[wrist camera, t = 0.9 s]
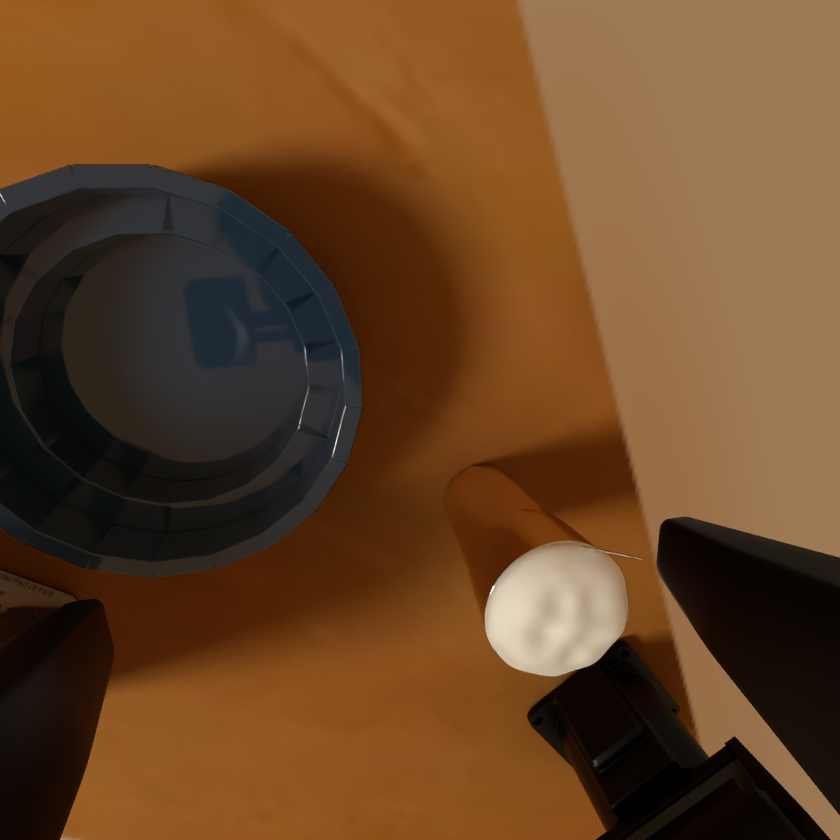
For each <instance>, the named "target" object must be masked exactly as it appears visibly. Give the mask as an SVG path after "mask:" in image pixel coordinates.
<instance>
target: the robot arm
mask: <svg viewBox="0 0 840 840" xmlns="http://www.w3.org/2000/svg"><path fill="white" fill-rule="evenodd" d="M659 533H660V534H659V543H658V551H657V569H658V572H659V575H660V577H661V578H662V580H663V581H664V583H665V584H666V586H667V588H668V589H669V591H670V592H671V594H672V595H673V597H674V598H675V600H676V601H677V603H678V604H679V606H680V607H681V609H682V611H683V612H684V613H685V615H686V617H687V618H688V620H689V621H690V623H691V624H692V626H693V627H694V629H695V630H696V632H697V634H698V635H699V637H700V638H701V640H702V641H703V642H704V644H705V645H706V647H707V648H708V650H709V651H710V652H711V654H712V655H713V656H714V658H715V659H716V660H717V662H718V663H719V664H720V665H721V667H722V668H723V669H724V670H725V672H726V673H727V674H728V675H729V676H730V678H731V679H732V680H733V682H734V683H735V684H736V685H737V687H738V688H739V689H740V691H741V692H742V693H743V694H744V696H745V697H746V698H747V699H748V701H749V702H750V703H751V704H752V706H753V707H754V708H755V709H756V711H757V712H758V713H759V714H760V716H761V717H762V718H763V719H764V721H765V722H766V723H767V724H768V726H769V727H770V728H771V729H772V731H773V732H774V733H775V735H776V736H777V737H778V738H779V739H780V741H781V742H782V743H783V744H784V746H785V747H786V748H787V750H788V751H789V752H790V753H791V755H792V756H793V757H794V758H795V760H796V761H797V762H798V763H799V765H800V766H801V767H802V768H803V770H804V771H805V772H806V773H807V775H808V776H809V777H810V779H811V780H812V781H813V782H814V783H815V785H816V786H817V787H818V788H819V790H820V791H821V792H822V793H823V795H824V796H825V797H826V799H827V800H828V801H829V802H830V804H831V805H832V806H833V807H834V809H835V810H836V811H837V812H838V814H839V815H840V558H839V557H835V556H831V555H828V554H824V553H821V552H816V551H813V550H809V549H806V548H801V547H798V546H794V545H790V544H787V543H783V542H779V541H776V540H772V539H768V538H764V537H761V536H757V535H753V534H750V533H746V532H742V531H738V530H735V529H731V528H727V527H723V526H720V525H715V524H712V523H709V522H705V521H701V520H697V519H693V518H690V517H679V518H672V519H667V520H665V521H664V522H663V523H662V524H661V526H660V532H659ZM622 651H623V652H622ZM113 659H114V646H113V642H112V638H111V633H110V629H109V625H108V621H107V617H106V613H105V609H104V606H103V604H102V603H101V601H99V600H98V599H87V600H80V601H73V602H69V603H66V604H64V605H63V606H61V607H60V608H58V609H56V610H55V611H53V612H52V613H50V614H48V615H47V616H45V617H44V618H42V619H41V620H39V621H37V622H36V623H34V624H33V625H31V626H29V627H28V628H26V629H25V630H23V631H22V632H20V633H18V634H17V635H15V636H14V637H12V638H10V639H9V640H7V641H6V642H4V643H3V644H1V645H0V840H60V838H61V835H62V833H63V830H64V827H65V825H66V822H67V819H68V817H69V814H70V811H71V808H72V806H73V803H74V800H75V798H76V795H77V792H78V789H79V787H80V784H81V781H82V778H83V775H84V772H85V769H86V766H87V763H88V760H89V756H90V752H91V749H92V745H93V741H94V737H95V733H96V729H97V725H98V721H99V717H100V713H101V709H102V705H103V701H104V697H105V693H106V689H107V685H108V681H109V677H110V673H111V669H112V665H113ZM679 712H680V708H679V706H678V705H677V704H676V702H675V701H674V700H673V699H672V697H671V696H670V695H669V694H668V692H667V691H666V690H665V689H664V687H663V686H662V685H661V684H660V682H659V681H658V680H657V679H656V677H655V676H654V675H653V674H652V672H651V671H650V670H649V669H648V667H647V666H646V665H645V664H644V662H643V661H642V660H641V659H640V658H639V656H638V655H637V654H636V653H635V651H634V650H633V649H632V648H631V646H630V645H629V644H628V643H627V642H626V641H619V642H617V643H616V644H614V645H613V646H612V647H610V648H609V649H608V650H607V651H606V652H605V653H604V655H603V656H602V657H601V658H600V659H599V660H598V661H597V662H595V663H594V664H592V665H590V666H587V667H585V668H583V669H582V670H581V671H580V672H578V673H577V674H576V675H574V676H573V677H572V678H571V679H569V680H568V681H567V682H565V683H564V684H563V685H562V686H560V687H559V688H558V689H557V690H555V691H554V692H553V693H551V694H550V695H549V696H548V697H546V698H545V699H544V700H542V701H541V702H540V703H539V704H537V705H536V706H535V707H533V708H532V709H531V710H530V711H529V712H528V715H527V718H528V720H529V722H530V724H531V726H532V727H533V728H534V729H535V730H536V731H537V732H538V733H539V734H540V735H541V736H542V737H543V738H544V739H545V740H546V741H547V742H548V743H549V744H550V745H551V746H552V747H553V748H554V749H555V750H556V751H557V752H558V753H559V754H560V755H561V756H562V757H563V758H564V759H565V760H566V761H567V762H568V763H569V764H570V765H571V766H572V767H573V768H574V770H575V772H576V774H577V776H578V778H579V780H580V782H581V783H582V785H583V787H584V789H585V791H586V793H587V795H588V797H589V799H590V801H591V803H592V805H593V807H594V809H595V810H596V812H597V814H598V816H599V818H600V820H601V822H602V824H603V826H604V828H605V830H606V832H605V833H604V834H603V835H601V836H600V837H598V838H597V839H596V840H830V838H829V837H828V836H827V835H826V834H825V833H824V831H823V830H822V829H821V828H820V827H819V826H818V825H817V824H816V822H815V821H814V820H813V819H812V818H811V817H810V815H809V814H808V813H807V812H806V811H805V810H804V809H803V808H802V807H801V806H800V805H799V804H798V803H797V801H796V800H795V799H794V798H793V797H792V796H791V795H790V794H789V793H788V792H787V791H786V790H785V789H784V788H783V787H782V786H781V785H780V784H779V783H778V781H777V780H776V779H775V778H774V777H773V776H772V775H771V774H770V773H769V772H768V771H767V770H766V769H765V768H764V767H763V766H762V765H761V763H760V762H759V761H758V760H757V759H756V758H755V757H754V756H753V755H752V754H751V753H750V752H749V751H748V750H747V749H746V748H745V747H744V746H743V745H742V744H741V743H740V741H739V740H738V739H737V738H736V737H733V738H732V739H730V740H729V741H728V742H726V743H725V745H726V746H725V747H723V748H722V749H721V750H719V751H718V752H717V753H715V754H714V755H712V756H711V757H710V758H709V756H708V755H707V754H706V753H705V751H704V750H703V749H702V748H701V746H700V745H699V744H698V742H697V741H696V740H695V739H694V737H693V736H692V735H691V734H690V732H689V731H688V730H687V729H686V727H685V726H684V725H683V724H682V722H681V721H680V720H679V719H678V717H677V715H678V714H679ZM537 717H538V718H537Z"/></svg>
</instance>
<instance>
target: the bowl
mask: <svg viewBox="0 0 840 840" xmlns="http://www.w3.org/2000/svg"><path fill="white" fill-rule="evenodd" d="M362 407H363V394H362V377H361V361H360V349H359V344H358V341H357V339H356V336H355V334H354V331H353V329H352V326H351V324H350V321H349V318H348V316H347V313H346V311H345V308H344V306H343V303H342V301H341V298H340V296H339V293H338V291H337V288H336V287H335V285H334V283H333V282H332V281H331V280H330V278H329V277H328V276H327V275H326V273H325V272H324V271H323V270H322V269H321V267H320V266H319V265H318V264H317V262H316V261H315V260H314V259H313V257H312V256H311V255H310V254H309V252H308V251H307V250H306V249H305V247H304V246H303V245H302V244H301V243H300V241H299V240H298V239H297V238H296V236H295V235H294V234H293V233H292V232H291V231H290V230H289V229H288V228H286V227H285V226H283V225H282V224H280V223H279V222H277V221H276V220H274V219H273V218H271V217H270V216H268V215H267V214H265V213H264V212H263V211H261V210H260V209H258V208H257V207H255V206H254V205H252V204H251V203H249V202H248V201H246V200H245V199H243V198H242V197H241V196H239V195H238V194H236V193H235V192H233V191H232V190H230V189H227V188H226V187H223V186H220V185H217V184H214V183H210V182H207V181H204V180H201V179H198V178H195V177H191V176H188V175H185V174H182V173H179V172H176V171H172V170H169V169H166V168H163V167H160V166H156V165H150V164H73V165H72V166H71V165H67V166H64V167H61V168H58V169H55V170H53V171H50V172H47V173H44V174H41V175H38V176H35V177H32V178H30V179H27V180H24V181H21V182H18V183H15V184H12V185H10V186H7V187H4V188H1V189H0V527H1V528H2V529H4V530H5V531H6V532H8V533H9V534H10V535H12V536H13V537H14V538H16V539H17V540H18V541H20V542H21V543H24V544H25V545H27V546H30V547H32V548H35V549H37V550H40V551H42V552H45V553H47V554H50V555H52V556H55V557H57V558H60V559H62V560H65V561H67V562H70V563H72V564H75V565H77V566H80V567H82V568H85V569H87V568H88V570H94V571H101V572H109V573H117V574H125V575H133V576H141V577H148V578H153V577H155V578H156V577H164V576H172V575H180V574H187V573H195V572H203V571H211V570H215V569H219V568H222V567H224V566H226V565H229V564H231V563H234V562H236V561H238V560H241V559H243V558H246V557H248V556H250V555H253V554H255V553H258V552H260V551H262V550H265V549H267V548H270V547H271V546H273V545H274V544H276V543H277V542H278V541H279V540H281V539H282V538H283V537H284V536H286V535H287V534H288V533H289V532H290V531H292V530H293V529H294V528H295V527H297V526H298V525H299V524H300V523H302V522H303V521H304V520H305V519H307V518H308V517H309V516H310V515H312V514H313V513H314V512H315V511H316V510H317V509H318V508H319V506H320V505H321V503H322V502H323V500H324V499H325V497H326V496H327V494H328V493H329V491H330V490H331V488H332V487H333V485H334V484H335V482H336V481H337V479H338V478H339V476H340V475H341V473H342V472H343V470H344V469H345V467H346V466H347V462H348V461H349V458H350V454H351V451H352V447H353V443H354V440H355V436H356V432H357V428H358V425H359V421H360V417H361V414H362V410H363V408H362Z"/></svg>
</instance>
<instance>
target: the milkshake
mask: <svg viewBox="0 0 840 840" xmlns="http://www.w3.org/2000/svg"><path fill="white" fill-rule="evenodd" d="M444 504H445V508H446V511H447V515H448V519H449V523H450V525H451V528H452V531H453V534H454V536H455V539H456V542H457V544H458V547H459V550H460V552H461V555H462V558H463V560H464V563H465V566H466V569H467V571H468V574H469V577H470V580H471V584H472V588H473V591H474V595H475V598H476V601H477V604H478V607H479V611H480V614H481V617H482V620H483V623H484V626H485V630H486V634H487V637H488V640H489V642H490V644H491V645H492V647H493V648H494V650H495V651H496V652H497V654H498V655H499V656H500V657H501V658H502V659H503V660H504V661H505V662H506V663H507V664H508V665H510V666H511V667H513V668H515V669H518V670H521V671H524V672H529V673H533V674H538V675H544V676H559V675H562V674H565V673H568V672H571V671H574V670H577V669H581V668H584V667H587V666H590V665H592V664H594V663H595V662H597V661H598V660H599V659H600V658H601V657H602V656H603V655H604V653H605V652H606V651H607V650H608V649H609V648H610V646H611V645H612V644H613V643H614V642H615V641H616V640H617V639H618V638H619V637H620V636H621V634H622V633H623V631H624V629H625V625H626V621H627V616H628V598H627V592H626V586H625V580H624V577H623V574H622V572H621V570H620V568H619V567H618V565H617V564H616V563H615V562H614V561H613V560H612V559H611V558H610V557H609V556H608V555H607V554H605V553H608V554H613V555H618V556H622V557H627V558H632V559H636V560H641V561H644V559H642V558H638V557H635V556H631V555H626V554H621V553H616V552H612V551H607V550H602V549H599V548H597V547H596V546H595V545H593V544H592V543H591V542H590V541H588V540H587V539H586V538H584V537H583V536H582V535H581V534H579V533H578V532H577V531H575V530H574V529H573V528H571V527H570V526H569V525H568V524H566V523H565V522H563V521H562V520H561V519H559V518H558V517H556V516H555V515H553V514H552V513H551V512H550V511H549V510H547V509H546V508H545V507H544V506H543V505H542V504H540V503H539V502H538V501H537V500H536V499H535V498H533V497H532V496H531V495H530V494H529V493H528V492H527V491H525V490H524V489H523V488H522V487H521V486H520V485H518V484H517V483H516V482H515V481H514V480H513V479H511V478H510V477H509V476H507V475H506V474H505V473H503V472H502V471H501V470H499V469H498V468H497V467H496V466H471V467H469V468H468V469H466V470H465V471H464V472H462V473H461V474H459V475H458V476H456V477H454V478H453V479H452V481H451V483H450V486H449V488H448V490H447V493H446V495H445V497H444Z"/></svg>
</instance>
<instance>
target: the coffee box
mask: <svg viewBox="0 0 840 840" xmlns="http://www.w3.org/2000/svg"><path fill="white" fill-rule="evenodd" d="M73 601H76V599H75V598H74V597H73V596H72V595H69V594H67V593H64V592H61V591H58V590H56V589H53V588H50V587H47V586H44V585H41V584H38V583H35V582H32V581H30V580H27V579H24V578H21V577H18V576H15V575H12V574H10V573H7V572H4V571H1V570H0V645H1V644H3V643H4V642H6V641H7V640H9V639H10V638H12V637H14V636H15V635H17V634H18V633H20V632H22V631H23V630H25V629H26V628H28V627H29V626H31V625H33V624H34V623H36V622H37V621H39V620H41V619H42V618H44V617H45V616H47V615H48V614H50V613H52V612H53V611H55V610H56V609H58V608H60V607H61V606H63V605H64V604H66V603H69V602H73Z"/></svg>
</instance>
